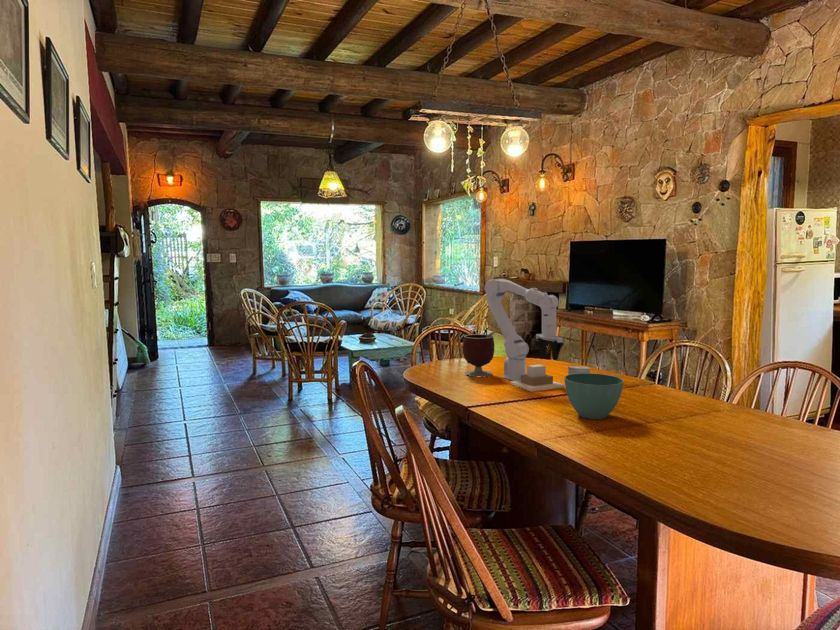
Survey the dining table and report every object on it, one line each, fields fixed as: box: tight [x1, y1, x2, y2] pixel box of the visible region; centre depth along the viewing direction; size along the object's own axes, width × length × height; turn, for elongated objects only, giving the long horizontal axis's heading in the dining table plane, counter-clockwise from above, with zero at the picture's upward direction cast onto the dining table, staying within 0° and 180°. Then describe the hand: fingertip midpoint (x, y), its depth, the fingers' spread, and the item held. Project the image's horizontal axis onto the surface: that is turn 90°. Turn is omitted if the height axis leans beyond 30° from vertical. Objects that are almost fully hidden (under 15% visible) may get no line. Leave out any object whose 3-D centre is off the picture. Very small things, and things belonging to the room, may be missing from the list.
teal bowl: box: [564, 372, 625, 420], centre depth 184 cm, size 18×18×12 cm
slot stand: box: [509, 373, 565, 392], centre depth 229 cm, size 14×16×4 cm
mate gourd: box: [462, 330, 499, 378], centre depth 252 cm, size 16×14×20 cm
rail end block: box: [526, 364, 547, 378], centre depth 229 cm, size 4×6×7 cm, turn 116°
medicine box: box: [567, 366, 591, 375], centre depth 223 cm, size 8×4×9 cm, turn 84°
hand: (549, 358), depth 233 cm, fingers open, 7 cm apart
